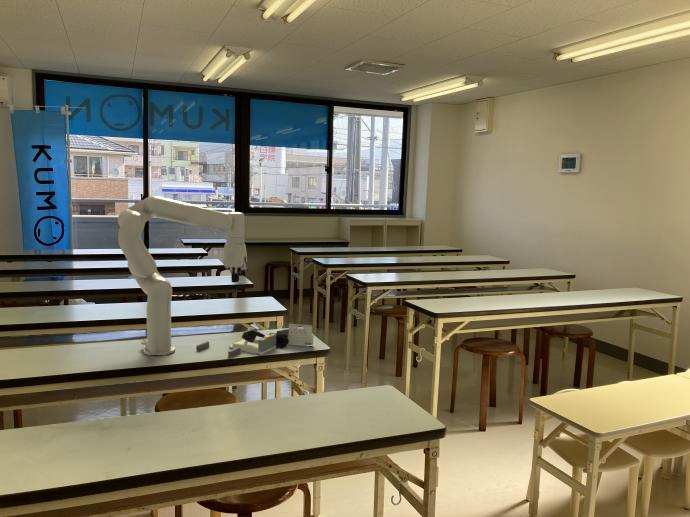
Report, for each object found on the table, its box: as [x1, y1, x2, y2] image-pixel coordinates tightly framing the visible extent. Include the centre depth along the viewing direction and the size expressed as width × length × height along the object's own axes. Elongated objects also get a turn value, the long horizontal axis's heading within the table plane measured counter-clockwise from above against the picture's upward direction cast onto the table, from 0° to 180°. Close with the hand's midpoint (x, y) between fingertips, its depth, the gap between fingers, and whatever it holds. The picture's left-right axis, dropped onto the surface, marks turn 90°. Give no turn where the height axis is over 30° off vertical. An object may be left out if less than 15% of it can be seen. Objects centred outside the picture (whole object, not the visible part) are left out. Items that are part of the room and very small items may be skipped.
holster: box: [195, 341, 242, 358], centre depth 242 cm, size 17×7×2 cm, turn 66°
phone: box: [276, 328, 289, 336], centre depth 271 cm, size 8×1×15 cm
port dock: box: [228, 333, 277, 355], centre depth 249 cm, size 17×11×6 cm, turn 66°
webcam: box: [268, 332, 289, 349], centre depth 254 cm, size 9×6×6 cm
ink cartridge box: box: [287, 323, 314, 346], centre depth 255 cm, size 2×11×10 cm, turn 78°
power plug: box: [241, 328, 266, 345], centre depth 250 cm, size 6×8×12 cm
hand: (235, 281), depth 254 cm, fingers closed
